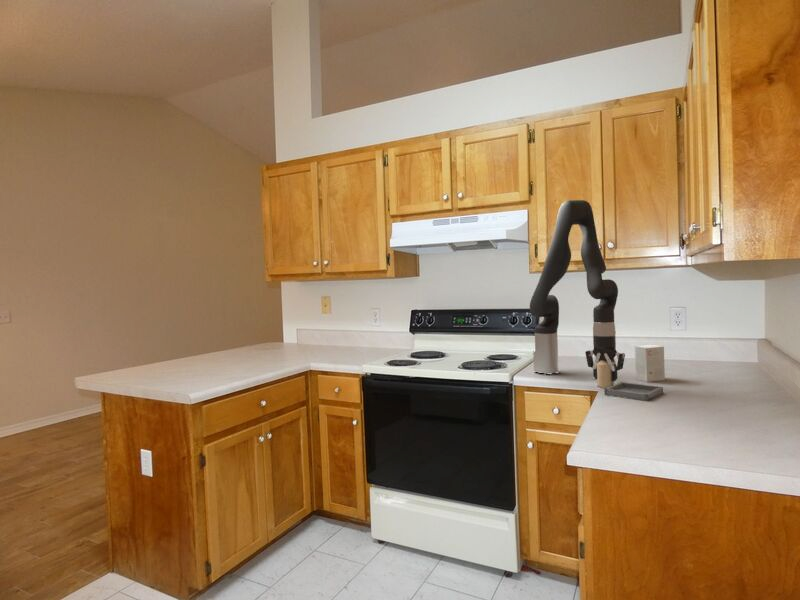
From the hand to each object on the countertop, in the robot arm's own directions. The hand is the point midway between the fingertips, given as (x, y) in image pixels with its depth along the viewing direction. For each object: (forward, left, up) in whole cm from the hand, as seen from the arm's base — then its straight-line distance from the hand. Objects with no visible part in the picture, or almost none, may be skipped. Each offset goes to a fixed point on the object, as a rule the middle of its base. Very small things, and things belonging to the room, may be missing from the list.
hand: (605, 379), depth 178 cm
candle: (0, 0, -3) cm, 3 cm away
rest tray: (+12, -5, -2) cm, 13 cm away
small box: (+8, +21, -3) cm, 23 cm away
